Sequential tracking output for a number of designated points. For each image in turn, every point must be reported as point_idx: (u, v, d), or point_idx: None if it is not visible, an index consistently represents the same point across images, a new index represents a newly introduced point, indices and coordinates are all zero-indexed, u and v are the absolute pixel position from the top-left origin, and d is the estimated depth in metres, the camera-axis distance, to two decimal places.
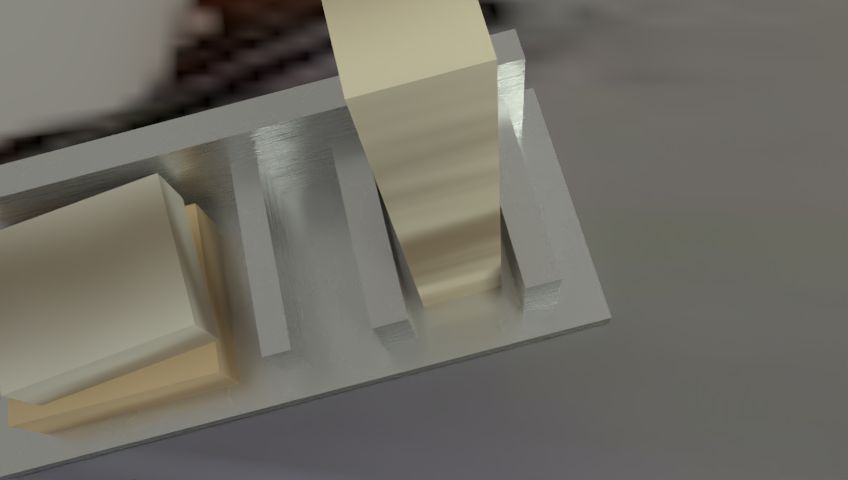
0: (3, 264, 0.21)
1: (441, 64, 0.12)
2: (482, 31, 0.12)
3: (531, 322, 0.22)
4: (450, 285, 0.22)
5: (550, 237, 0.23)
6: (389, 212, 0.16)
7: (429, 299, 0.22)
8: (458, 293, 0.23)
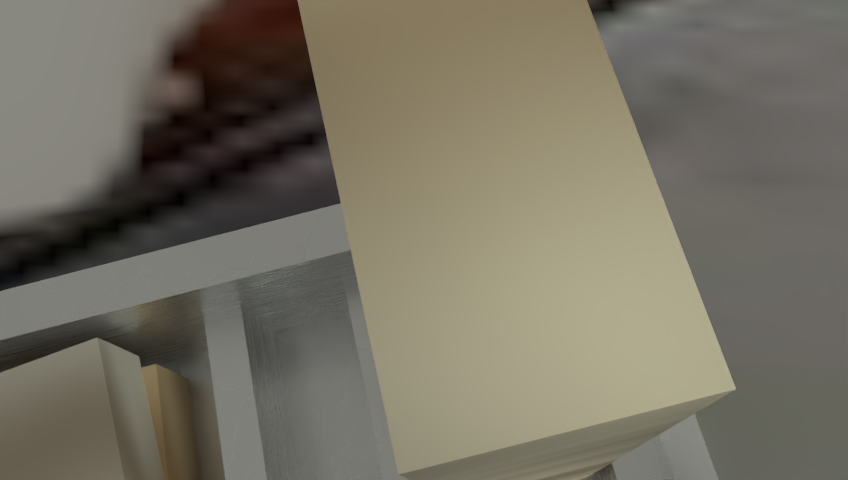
0: None
1: (610, 396, 0.05)
2: (695, 315, 0.06)
3: None
4: None
5: None
6: None
7: None
8: None
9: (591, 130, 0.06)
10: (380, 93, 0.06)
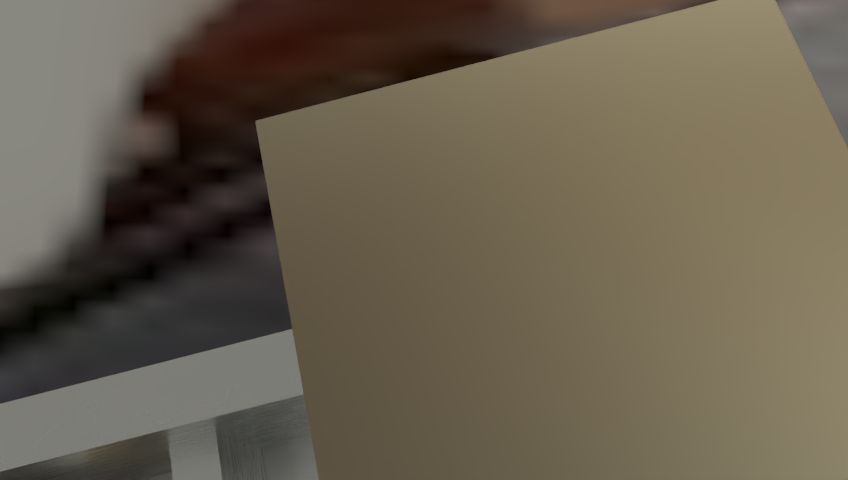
0: None
1: None
2: None
3: None
4: None
5: None
6: None
7: None
8: None
9: None
10: (442, 416, 0.03)
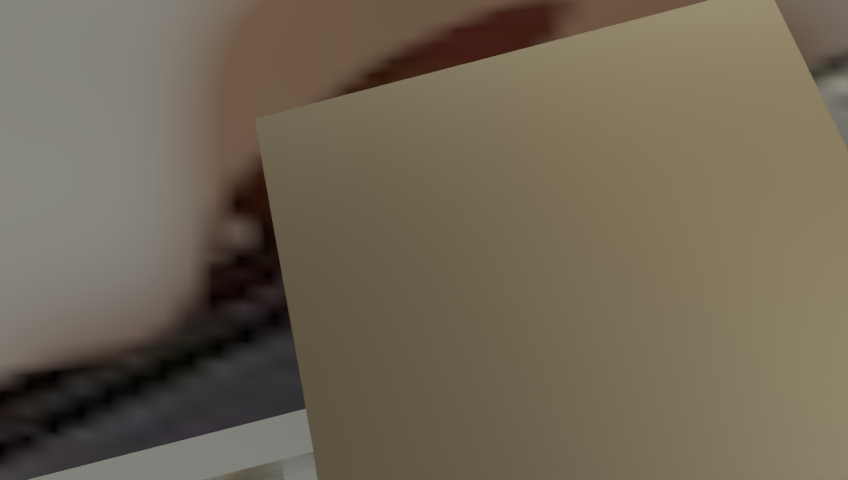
0: None
1: None
2: None
3: None
4: None
5: None
6: None
7: None
8: None
9: None
10: (439, 413, 0.03)
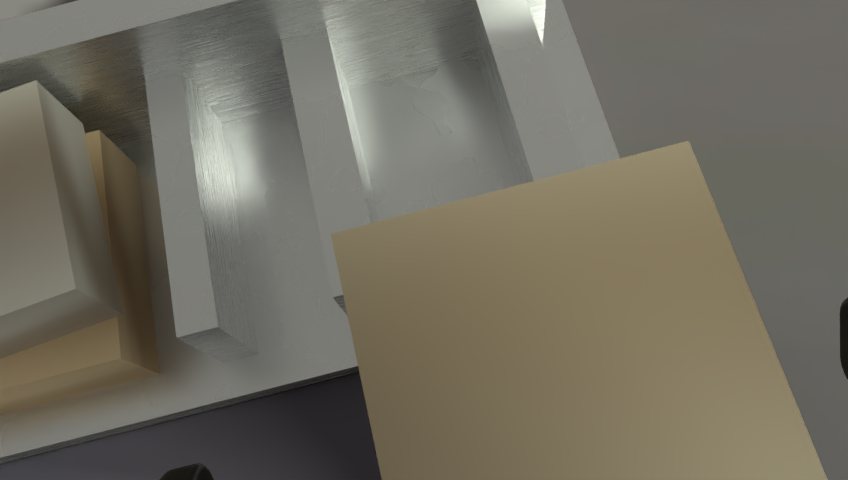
0: None
1: None
2: None
3: None
4: None
5: None
6: None
7: None
8: None
9: None
10: (465, 442, 0.04)
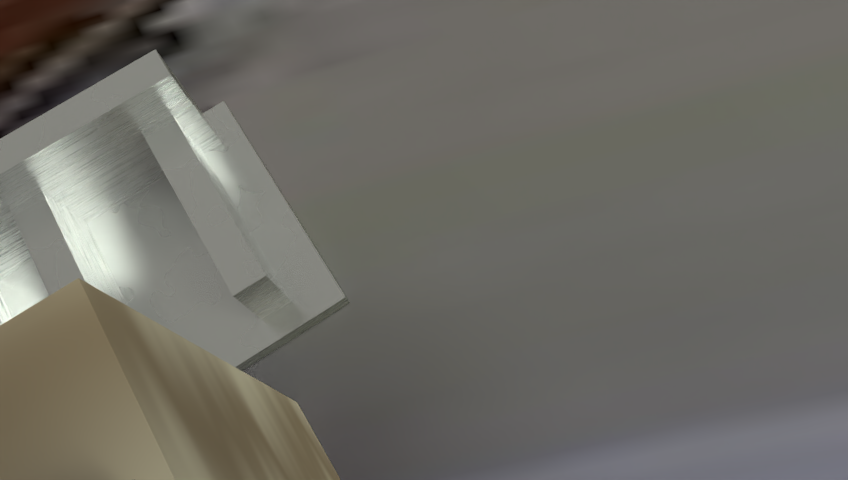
0: None
1: None
2: None
3: (271, 326, 0.22)
4: None
5: (271, 238, 0.23)
6: None
7: None
8: None
9: (123, 432, 0.10)
10: None
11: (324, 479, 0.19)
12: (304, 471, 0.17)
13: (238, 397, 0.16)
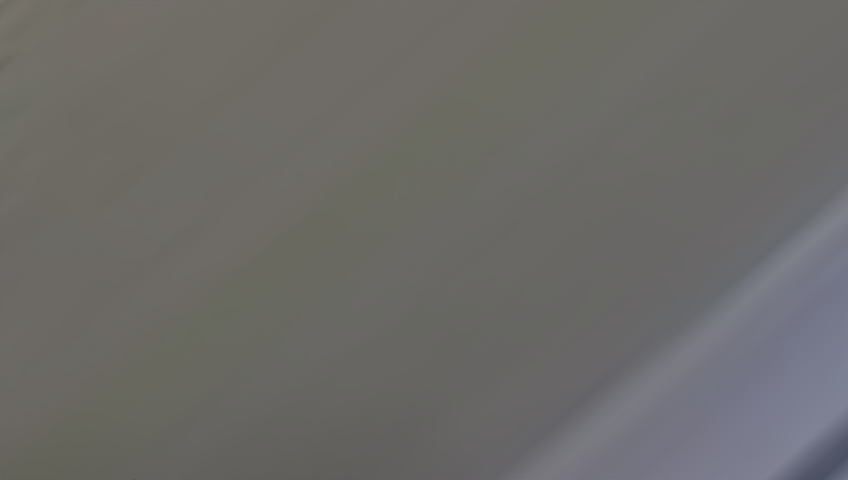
0: None
1: None
2: None
3: None
4: None
5: None
6: None
7: None
8: None
9: None
10: None
11: None
12: None
13: None
